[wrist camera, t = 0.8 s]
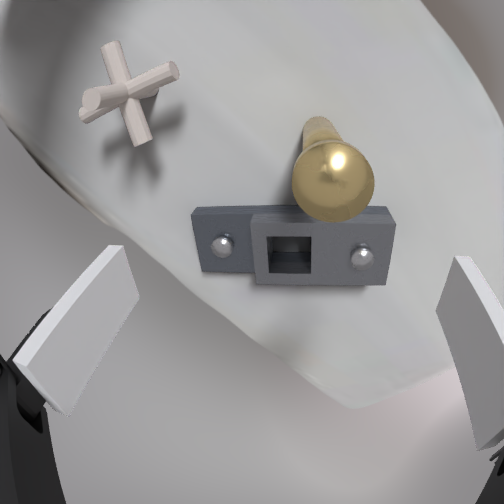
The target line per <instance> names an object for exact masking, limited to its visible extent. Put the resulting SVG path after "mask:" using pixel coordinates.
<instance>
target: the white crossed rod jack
mask: <svg viewBox="0 0 504 504" xmlns="http://www.w3.org/2000/svg"><path fill="white" fill-rule="evenodd" d="M100 50H101V53H102V57H103V60H104V63H105V66H106V69H107V72H108V75H109V78H110V81H111V84H112V85H105V86H99V87H93V88H89V89H87V90H86V91H85V92H84V94H83V97H82V104H83V107H82V108H80V110H79V117H80V119H81V121H82V122H84V123H90V122H92V121H93V120H95V119H97V118H99V117H101V116H102V115H104V114H106V113H108V112H110V111H112V110H114V109H115V108H117V107H119V108H120V110H121V113H122V116H123V119H124V121H125V124H126V127H127V130H128V132H129V135H130V138H131V140H132V143H133V146H134V147H135V146H138V145H140V144H143V143H145V142H147V141H150V140H152V139H153V137H152V135H151V132H150V129H149V126H148V124H147V121H146V118H145V115H144V113H143V110H142V107H141V104H140V101H139V99H143V98H148V97H152V96H155V95H156V94H157V92H158V90H159V87H162V86H164V85H166V84H169V83H171V82H173V81H176V80H178V79H179V77H180V74H179V70H178V68H177V65H176V64H175V63H174V62H173V61H169V62H166V63H164V64H162V65H160V66H158V67H155V68H153V69H151V70H149V71H147V72H145V73H143V74H141V75H139V76H137V77H135V78H133V79H132V78H131V75H130V72H129V69H128V66H127V63H126V60H125V57H124V54H123V51H122V48H121V44H120V41H113V42H110V43H107V44H105V45H104V46H102V47H101V49H100Z"/></svg>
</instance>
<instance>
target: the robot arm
mask: <svg viewBox="0 0 504 504" xmlns="http://www.w3.org/2000/svg"><path fill="white" fill-rule="evenodd" d="M139 298H140V296H139V294H138V291H137V288H136V285H135V282H134V279H133V276H132V273H131V270H130V266H129V263H128V260H127V257H126V253H125V250H124V247H123V246H116V245H115V246H114V245H109V246H108V247H107V248H106V249H105V250H104V251H103V252H102V253H101V254H100V255H99V256H98V257H97V258H96V259H95V260H94V262H93V263H92V264H91V265H90V266H89V267H88V268H87V269H86V270H85V271H84V273H83V274H82V275H81V276H80V277H79V278H78V279H77V280H76V281H75V283H74V284H73V285H72V286H71V287H70V288H69V290H68V291H67V292H66V293H65V294H64V295H63V297H62V298H61V299H60V300H59V301H58V302H57V303H56V305H55V306H54V307H53V308H51V309H50V310H48V311H47V312H46V313H45V314H43V315H42V316H41V318H40V319H39V320H38V321H37V323H36V324H35V326H33V328H32V329H31V330H30V333H29V334H27V335H26V337H25V338H24V339H23V340H22V342H21V343H20V345H19V346H18V347H17V348H16V350H15V351H14V352H13V354H12V355H11V357H10V358H9V359H8V360H7V362H6V361H5V360H4V359H3V357H2V356H1V355H0V504H66V501H65V498H64V495H63V491H62V488H61V484H60V480H59V476H58V471H57V467H56V463H55V458H54V454H53V448H52V442H51V437H50V431H49V424H48V417H47V412H46V409H45V408H44V407H43V405H44V403H45V402H47V403H48V404H49V405H50V406H51V407H52V408H53V409H54V410H55V411H57V412H59V413H62V414H64V415H66V416H68V417H69V416H70V414H71V413H72V411H73V409H74V407H75V405H76V403H77V401H78V399H79V398H80V396H81V394H82V392H83V391H84V389H85V387H86V385H87V384H88V382H89V380H90V378H91V376H92V375H93V373H94V371H95V370H96V368H97V366H98V364H99V363H100V361H101V359H102V358H103V356H104V354H105V352H106V351H107V349H108V348H109V346H110V344H111V343H112V341H113V339H114V337H115V336H116V334H117V333H118V331H119V330H120V328H121V326H122V325H123V323H124V321H125V320H126V318H127V317H128V315H129V314H130V312H131V310H132V309H133V307H134V306H135V304H136V303H137V301H138V300H139ZM436 313H437V315H438V318H439V321H440V323H441V326H442V328H443V331H444V334H445V337H446V339H447V342H448V345H449V348H450V351H451V354H452V357H453V360H454V363H455V366H456V369H457V372H458V375H459V378H460V382H461V385H462V388H463V392H464V395H465V400H466V403H467V407H468V411H469V415H470V420H471V423H472V428H473V432H474V438H475V442H476V448H477V451H480V450H483V449H486V448H490V447H494V446H496V445H497V444H498V443H499V442H500V441H501V440H502V439H504V310H503V308H502V306H501V305H500V303H499V301H498V300H497V298H496V296H495V295H494V293H493V291H492V290H491V288H490V286H489V285H488V283H487V282H486V280H485V279H484V277H483V275H482V274H481V272H480V271H479V269H478V268H477V266H476V265H475V263H474V262H473V261H472V259H471V258H470V256H454V259H453V262H452V265H451V268H450V271H449V274H448V278H447V281H446V283H445V286H444V289H443V292H442V295H441V298H440V300H439V303H438V306H437V308H436ZM498 456H499V457H498ZM496 457H498V460H497V461H496V462H495V466H494V469H493V471H492V473H491V475H490V477H489V479H488V481H487V483H486V485H485V487H484V489H483V491H482V493H481V494H480V496H479V498H478V500H477V502H476V503H475V504H504V446H503V447H502V448H501V449H500V450H498V451H497V452H496V453H495V454H493V455H492V457H491V458H490V461H492V460H494V459H495V458H496Z"/></svg>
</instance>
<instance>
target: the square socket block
mask: <svg viewBox="0 0 504 504" xmlns="http://www.w3.org/2000/svg"><path fill="white" fill-rule="evenodd" d="M191 219H192V225H193V230H194V235H195V240H196V245H197V250H198V254H199V259H200V264H201V269H202V271H209V272H250V273H255V277H256V284H280V285H386V280H387V275H388V270H389V265H390V259H391V253H392V247H393V241H394V234H395V227H396V223H395V221H394V220H393V218H392V216H391V214H390V212H389V210H388V209H387V207H385V206H366V208H365V209H364V210H363V211H362V212H361V213H359V214H358V215H357V216H355V217H353V218H351V219H349V220H346V221H343V222H334V223H332V222H324V221H320V220H317V219H315V218H313V217H311V216H310V215H308V214H307V213H306V212H304V211H303V210H302V209H301V207H300V206H299V205H264V206H219V207H197V208H196V209H195V210H194V212H193V213H192V214H191ZM272 236H303V237H311V252H273V245H272Z"/></svg>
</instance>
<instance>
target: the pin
mask: <svg viewBox="0 0 504 504" xmlns="http://www.w3.org/2000/svg"><path fill="white" fill-rule="evenodd" d="M292 191H293V195H294V197H295V200H296V201H297V203H298V205H299V206H300V207H301V209H302V210H303V211H304V212H306V213H307V214H308V215H310V216H311V217H313V218H315V219H317V220H320V221H324V222H332V223H334V222H343V221H346V220H349V219H351V218H353V217H355V216H357V215H358V214H359V213H361V212H362V211H363V210H364V209H365V208H366V206H367V205H368V204H369V202H370V200H371V198H372V195H373V192H374V175H373V171H372V169H371V166H370V165H369V163H368V161H367V160H366V159H365V157H364V156H363V155H362V153H361V152H360V151H359V150H358V149H357V148H355V147H354V146H352V145H350V144H349V143H346V142H344V141H343V140H342V138H341V137H340V135H339V134H338V132H337V130H336V129H335V127H334V126H333V124H332V123H331V122H330V121H329V120H328V119H326V118H324V117H313V118H311V119H309V120H308V121H307V122H306V123H305V125H304V127H303V152H302V153H301V154H300V155H299V157H298V158H297V160H296V162H295V165H294V168H293V174H292Z"/></svg>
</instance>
